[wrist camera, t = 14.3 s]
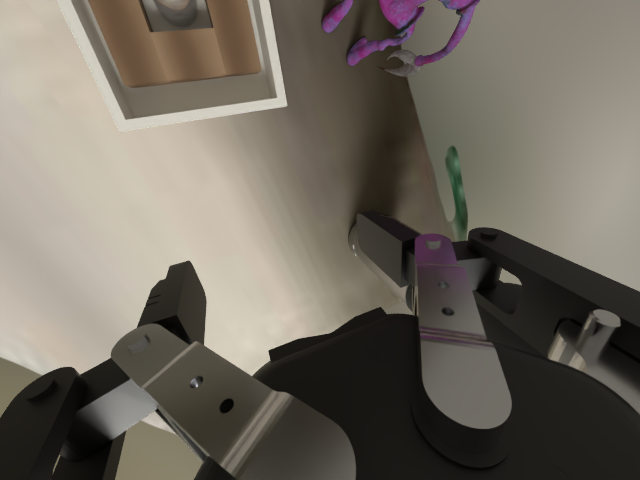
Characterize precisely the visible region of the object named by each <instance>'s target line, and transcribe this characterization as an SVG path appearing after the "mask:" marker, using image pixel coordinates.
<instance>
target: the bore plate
mask: <svg viewBox="0 0 640 480" xmlns="http://www.w3.org/2000/svg"><path fill="white" fill-rule="evenodd" d="M88 2H89V4H90V7H91V9H92V11H93V14H94V16H95V18H96V21H97V23H98V25H99V28H100V30H101V32H102V34H103V37H104V39H105V41H106V44H107V46H108V48H109V51H110V53H111V55H112V58H113V60H114V62H115V64H116V67H117V69H118V71H119V74H120V76H121V78H122V81H123V83H124V85H125V86H127V87H130V88H140V87H149V86H157V85H166V84H174V83H182V82H191V81H199V80H208V79H216V78H225V77H233V76H241V75H250V74H258V73H259V72H260V71H261V70H262V69H261V64H260V59H259V55H258V50H257V45H256V40H255V35H254V30H253V25H252V20H251V16H250V11H249V6H248V1H247V0H205V3H206V7H207V11H208V15H209V19H210V22H211V26H212V28H205V29H191V30H178V31H164V32H153V30H152V27H151V24H150V21H149V18H148V16H147V13H146V10H145V7H144V4H143V2H142V0H88Z"/></svg>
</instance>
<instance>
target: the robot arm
mask: <svg viewBox="0 0 640 480" xmlns="http://www.w3.org/2000/svg"><path fill="white" fill-rule="evenodd" d="M349 246H350V248H351V250H352V251H353V253H354V254H355V255H356V256H357V257H358V258H359V259H360V260H361V261H362V262H363V263H364V264H365V265H366V266H367V267H368V268H369V269H370V270H371V271H372V272H373V273H374V274H375V275H376V276H377V277H378V278H379V279H380V280H381V281H382V282H383V283H384V284H385V285H386V286H387V287H388V288H389V289H390V290H391V291H392V292H393V293H394V294H395V295H396V296H397V297H398V298H399V299H400V300H401V301H402V302H403V303H404V304H405V305H406V306H407V307H408V308H409V309H410V310H411V311H412V315H409V314H386V313H385V312H384V310H383V309H382V308H381V307H379V308H376V309H374V310H371V311H369V312H366V313H364V314H361V315H358V316H356V317H354V318H353V319H351V320H350V321H348V322H347V323H345V324H344V325H342V326H341V327H340V328H338V329H337V330H335V331H334V332H332V333H329V334H324V335H318V336H312V337H306V338H300V339H297V340H294V341H292V342H289V343H286V344H284V345H281V346H279V347H276V348H274V349H271V350H268V351H269V355H270V360H271V361H269V362H268V363H266V364H265V365H264V366H262V367H261V368H260V369H259V370H258V371H257V372H256V373H255V374H254V375H253V376H250V375H249V374H247V373H246V372H244V371H243V370H241V369H240V368H238V367H236V366H235V365H233V364H232V363H230V362H229V361H227V360H226V359H224V358H222V357H221V356H219V355H218V354H216V353H215V352H213V351H212V350H210V349H208V348H207V347H205V346H204V334H205V317H206V296H205V292H204V289H203V287H202V285H201V283H200V280H199V278H198V276H197V274H196V272H195V269H194V267H193V265H192V263H191V262H190V261H186V262H182V263H179V264H175V265H172V266H170V267H169V270H168V273H167V276H166V279H164V280H160V281H159V282H158V283H157V284H156V285H155V286H154V287H153V288H152V290H151V292H150V295H149V297H148V299H149V300H147V302H146V307H145V308H144V310H143V313H142V316H141V318H140V321H139V323H138V326H137V328H136V329H134V330H132V331H131V332H129V333H127V334H126V335H125V336H123V337H122V338H121V339H120V340H119V341H118V342H117V343H116V345H115V346H114V347H113V349H112V352H111V358H110V359H108V360H107V361H105V362H103V363H101V364H99V365H97V366H96V367H94V368H92V369H90V370H88V371H86V372H85V373H83V374H81V375H80V374H79V373H78V372H77V371H76V370H75V369H74V368H72V367H63V368H59V369H56V370H53V371H51V372H49V373H47V374H45V375H43V376H41V377H40V378H38V379H36V380H35V381H33V382H32V383H31V384H29V385H28V386H27V387H25V388H24V389H23V390H22V391H21V392H20V393H19V394H18V395H17V396H16V397H15V398H14V399H13V400H12V401H11V403H10V404H9V406H8V407H7V409H6V410H5V412H4V413H3V415H2V416H1V418H0V480H115V477H116V472H117V468H118V464H119V460H120V455H121V450H122V446H123V442H124V438H125V434H126V430H127V429H129V428H130V427H132V426H133V425H135V424H136V423H137V422H139V421H140V420H142V419H143V418H145V417H146V416H148V415H149V414H151V413H152V412H154V411H155V412H156V413H157V414H158V415H159V416H160V417H161V418H162V420H163V421H164V422H165V423H166V424H167V425H168V426H169V427H170V428H171V429H172V430H173V431H174V432H175V433H176V434H177V435H178V436H179V437H180V438H181V439H182V441H183V442H184V443H185V444H186V445H187V446H188V447H189V448H190V449H191V450H192V452H193V453H194V454H195V455H196V456H197V457H198V459H199V460H200V461H201V462H202V465H201V467H200V469H199V471H198V473H197V475H196V477H195V479H194V480H640V292H639V291H637V290H634V289H632V288H630V287H628V286H625V285H623V284H621V283H619V282H616V281H614V280H612V279H609V278H607V277H605V276H603V275H601V274H598V273H596V272H594V271H591V270H589V269H587V268H584V267H582V266H580V265H578V264H575V263H573V262H571V261H569V260H566V259H564V258H562V257H560V256H558V255H555V254H553V253H551V252H549V251H546V250H544V249H542V248H540V247H537V246H535V245H533V244H530V243H528V242H526V241H524V240H521V239H519V238H517V237H515V236H512V235H510V234H508V233H506V232H503V231H501V230H498V229H493V228H484V227H483V228H475V229H472V230H471V231H469V235H468V241H459V242H451V240H450V239H449V238H447V237H445V236H443V235H439V234H423V235H422V234H421V233H419V232H418V231H416V230H414V229H413V228H411V227H409V226H407V225H406V224H404V223H402V222H400V221H399V220H397V219H395V218H393V217H392V216H390V215H389V216H383V215H381V214H378V213H377V212H375V211H373V210H369V211H366V212H362V213H358V214H357V222H356V223H355V224H354V226H353V227H352V229H351V232H350V235H349ZM502 268H503V269H505V270H506V271H508V272H510V273H511V274H513V275H515V276H516V277H517V278H518V279H519V280H520V281H521V283H522V285H518V284H512V283H503V282H502V281H500V280H499V277H500V274H501V270H502ZM59 455H61V456H60V458H59V461H58V464H57V466H56V468H55V471H54V473H53V468H54V465H55V463H56V461H57V458H58V456H59ZM52 473H53V475H52Z"/></svg>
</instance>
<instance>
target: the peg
mask: <svg viewBox="0 0 640 480" xmlns="http://www.w3.org/2000/svg"><path fill="white" fill-rule="evenodd" d="M153 1H154V3H155V5H156V7H157V9H158V10H159V12H160V14H161V15H162V16H163V17H164V19H165V20H167V21H168V22H169V23H171V24H172V25H174V26H177V27H188V26H190V25H192V24H193V23H194V22H195V20H196V18H197V13H198V8H197V1H196V0H153Z"/></svg>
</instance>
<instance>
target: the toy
mask: <svg viewBox="0 0 640 480" xmlns="http://www.w3.org/2000/svg"><path fill="white" fill-rule="evenodd" d="M425 1H427V0H379V3H380V6H381V9H382V12H383V14H384V16H385V17H386V18H387V20H388V21H390V22H391V23H392V24H393V25H394V26H395V27H396V28H397V29H396V31H395V36H399V35H401V34H403V33H404V32H407V33H406V34H405V35H404V36H403V37H401V38H396V39H388V38H387V39H386V40H381V41H377V40H374V41H369V42H367V39H366V38H362V39H360V40H359V41H357V42H356V43H355V44H354V46H353V47H352V48H351V49H350V50H349V52H348V54H347V62H348V64H349V65H350V66H353V65H355V64H357V63H358V62H359V61H360V60H361V59H362V58H364V57H366V56H368V55H369V54H371V53H372V52H374V51H377V50H380V51H383V50H384V49H385V47H386V46H388V45H391V46H396V45H399V44H402V43H403V42H404V41H406V40H407V39H408V38H410V36H411V35H412V33H413V31H414V27H415V23H416V21H417V20H418V19H419V18H420V17H421V15H422V13H423V12H424V7H419V8H418V6H419V5H420V4H422V3H423V2H425ZM439 1H441V2H442V3H443V4H444V6H445V7H446V8H448V9H453V10H454V9H457V11H456V13H457V14H458V15H461V17H460V20H459V23H458V25H457V27H456V29H455V31H454V33H453V35H452V36H451V38H450V40H449V42H448V44H447V45H446V46H445V47H444V48H443V49H442V50H440V51H439V52H436V53H434V54H432V55H427V56H422V55H419V56H417V57H416V56H415V55H414V54H413V53H412V52H410V51H408V50H398V51H395V52H393V53H392V54H391V55H390V56H389V57H388V58H387V60H388V59H389V58H391V57H393V56H396V57H398V58H400V59H401V60H402V61H403V62H406V63H407V64H405V65H404V66H402V67H400V68H397V69H384V68H381V67H379V68H381V69H383V70H386V71H388V72H390V73H392V74H394V75H398V76H404V77H410V76H413V75H415V74H417V73H418V72H419V70H420V69H421V66H423V65H424V64H427V63H431V62H435V61H437V60H440V59H441V58H443V57H444V56H446V55H447V54H449V53H450V52H451V51H452V50H453V49H454V48H455V47H456V45H457V44H458V43H459V41H460V40H461V38H462V37H463V35H464V34H465V32H466V30H467V28H468V26H469V24H470V21H471V18H472V15H473V12H474V9H475V6H476V5H477V4H478V2H479V1H480V0H439ZM352 3H353V0H343V2H342V3H340V4H338V5H337V6H335V7H334V8H333V9H332V10H331V11H330V13H329V14H327V15H326V16H325V17H324V18H323V21H322V28H323V30H324V31H326V32H328V33H330V32H332V31H334V29H335V28H336V27H337V25H338V24H339V23H340V21H341V20H342V19H343V17H344V16H345V15H346V14H347V13H348V12H349V10H350V7H351V6H352ZM387 60H386V61H387ZM386 61H385V62H386ZM377 67H378V66H377Z"/></svg>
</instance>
